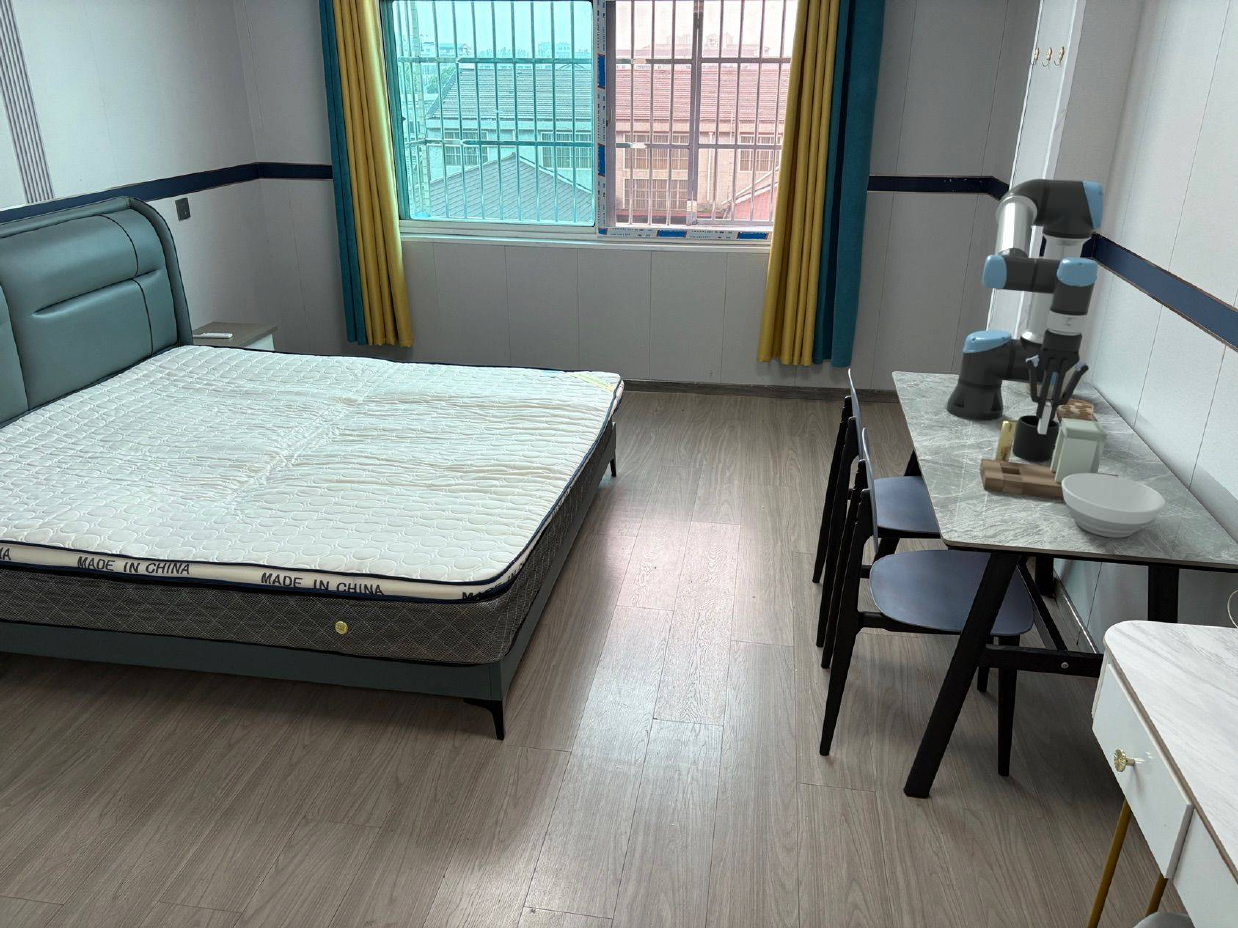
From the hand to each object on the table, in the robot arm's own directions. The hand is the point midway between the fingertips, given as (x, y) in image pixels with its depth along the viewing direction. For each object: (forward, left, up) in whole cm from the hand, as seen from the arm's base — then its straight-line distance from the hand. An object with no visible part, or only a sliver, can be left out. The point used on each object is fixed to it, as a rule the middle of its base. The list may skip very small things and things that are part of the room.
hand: (1041, 431), depth 205 cm
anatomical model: (-47, +17, -14) cm, 52 cm away
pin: (-9, -6, -14) cm, 17 cm away
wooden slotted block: (0, +4, -13) cm, 14 cm away
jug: (-77, +14, -14) cm, 80 cm away
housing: (0, +8, -10) cm, 13 cm away
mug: (-21, +4, -14) cm, 26 cm away
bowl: (+18, +12, -14) cm, 26 cm away
